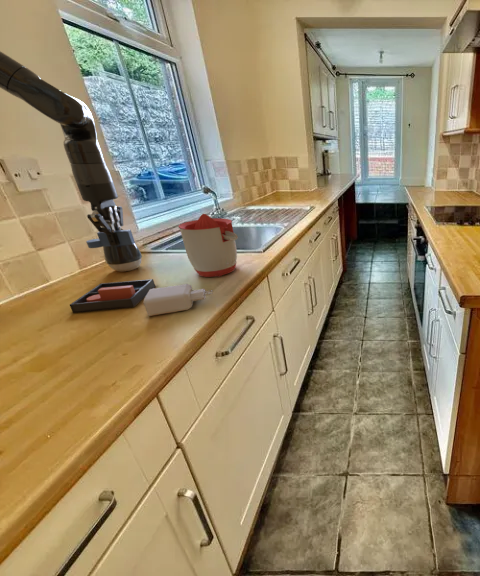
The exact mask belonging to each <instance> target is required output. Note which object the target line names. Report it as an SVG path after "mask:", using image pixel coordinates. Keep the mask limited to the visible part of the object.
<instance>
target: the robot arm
mask: <svg viewBox="0 0 480 576" xmlns="http://www.w3.org/2000/svg"><path fill="white" fill-rule="evenodd" d="M0 89H1V90H3V91H5V92H6V93H8V94H10V95H12V96H14V97H16V98H18V99H20V100H22V101H23V102H25V103H26V104H28V105H29V106H30V107H32V108H34V109H35V110H37V111H38V112H40V113H41V114H42V115H44V116H46V117H48V118H49V119H50V120H52V121H54V122H56V123H58V124H59V125H60V128H61V130H62V134H63V137H64V140H63V148H64V151H65V154H66V156H67V159H68V163H69V164H70V167H71V172H72V176H73V178H74V182H75V183H76V186H77V189H78V191H79V194H80V196H81V198H82V200H83V201H84V202H88V203H90V210H91V211H92V212H91V213H90V214H87V215H86V217H87V219H88V221H90V222H91V224H92V225H93V227H94V228H95V229H96V230H97V231H98V232H104V233H106V235H107V238H108V241H109V243H110V245H111V246H118V245H120V242H119V239H118V236H117V234H116V232H115V231H117V230H121V229H122V227H124V213H123V212H124V211H123V207H122V206H121V205H119V206H117V205H116V202H115V201H114V200H116V199H118V198H119V195H118V192H117V189H116V186H115V183H114V181H113V178H112V175H111V172H110V170H109V168H108V166H107V163H106V160H105V157H104V154H103V151H102V149H101V147H100V144H99V141H98V135H97V129H96V125H95V120H94V118H93V115H92V112H91V111H90V109H89V107H88V106H87V105H86V104H85V103H84V102H83V101H81V100H80V99H78V98H77V97H73V96H71V95H69V94H67V93H66V92H64V91H62V90H60V89H59V88H57V87H55V86H54V85H52V84H51V83H49V82H47V81H46V80H44V79H42V78H41V77H40V76H39V75H38V74H36V72H34V71H32V70H31V69H29V68H28V67H26V66H25V65H23V64H21V63H20V62H18V61H17V60H15V59H13V58H12V57H10V56H9V55H7V54H6V53H4V52H3V51H1V50H0Z"/></svg>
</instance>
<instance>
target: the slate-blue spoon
mask: <svg viewBox="0 0 480 576" xmlns="http://www.w3.org/2000/svg"><path fill="white" fill-rule="evenodd" d="M115 232H116V234H117V236H118V239H119V242H120V245H133V244H134V243H135V244H136V240H135V238H134V236H133V233H132V229H123V230H117V231H115ZM96 234H97V236H98V237H97V238H93V239H92V238H91V239H88V240H86V241H85V242H86V245H87V247H88V248H89V249H97V248H103V247H105V246H111V245H110V243H109V241H108V238H107V235H106V233H104V232H99V231H98V232H96ZM118 246H119V245H118Z"/></svg>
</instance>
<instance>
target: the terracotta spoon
mask: <svg viewBox="0 0 480 576" xmlns="http://www.w3.org/2000/svg"><path fill="white" fill-rule="evenodd" d="M98 292H99V294H97V295H93V296H90V297H88V298H87V302H96V301H107V300H118V299H129V298H130V297H132V296H133V295H134V294H135V290H134V287H133V285H129V286H117V287H106V288H100V289H99V290H98Z"/></svg>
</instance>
